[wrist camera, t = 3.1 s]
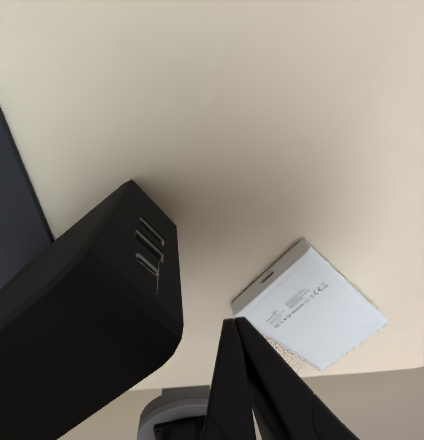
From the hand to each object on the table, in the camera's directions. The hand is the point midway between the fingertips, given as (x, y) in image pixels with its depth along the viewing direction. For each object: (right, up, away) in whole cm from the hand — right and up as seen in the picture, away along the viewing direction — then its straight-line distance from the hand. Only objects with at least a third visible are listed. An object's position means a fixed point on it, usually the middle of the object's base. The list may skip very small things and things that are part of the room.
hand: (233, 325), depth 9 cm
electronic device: (-9, +3, +7) cm, 11 cm away
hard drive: (+8, -4, +12) cm, 15 cm away
